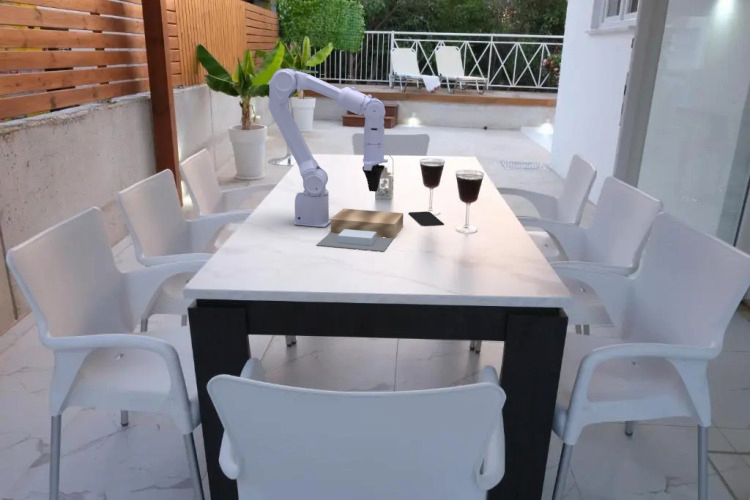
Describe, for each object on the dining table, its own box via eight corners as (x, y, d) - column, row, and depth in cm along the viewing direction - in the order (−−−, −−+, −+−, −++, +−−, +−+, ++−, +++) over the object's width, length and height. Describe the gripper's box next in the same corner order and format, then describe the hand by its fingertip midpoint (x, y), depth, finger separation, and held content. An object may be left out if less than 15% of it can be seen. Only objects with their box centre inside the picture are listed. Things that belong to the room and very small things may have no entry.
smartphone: (421, 225, 171) (407, 212, 185) (421, 227, 171) (407, 214, 185) (445, 224, 172) (429, 211, 186) (445, 226, 173) (429, 213, 186)
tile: (344, 229, 159) (344, 236, 160) (337, 235, 154) (337, 242, 154) (376, 231, 157) (376, 238, 158) (371, 238, 152) (371, 245, 152)
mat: (316, 245, 152) (316, 244, 152) (329, 233, 163) (329, 232, 163) (384, 252, 148) (384, 250, 148) (393, 239, 159) (393, 238, 158)
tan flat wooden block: (330, 232, 164) (330, 218, 162) (343, 221, 175) (343, 208, 173) (394, 238, 159) (394, 224, 158) (402, 226, 171) (403, 213, 169)
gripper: (381, 147, 158) (380, 197, 162) (393, 140, 171) (392, 186, 175) (356, 146, 159) (356, 195, 163) (369, 139, 172) (369, 185, 177)
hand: (373, 190), depth 169 cm, fingers closed
